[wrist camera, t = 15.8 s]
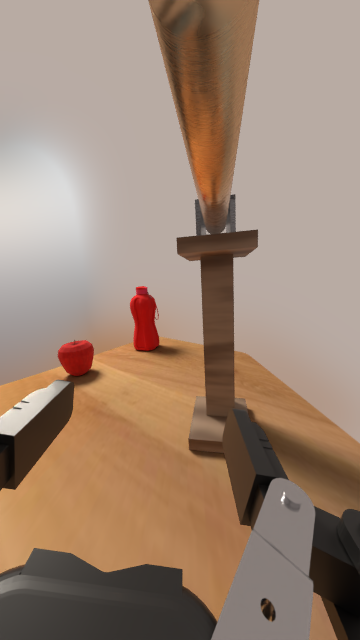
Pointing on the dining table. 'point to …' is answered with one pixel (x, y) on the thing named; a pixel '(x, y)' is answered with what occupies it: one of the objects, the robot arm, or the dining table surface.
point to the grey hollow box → (229, 223)
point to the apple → (76, 357)
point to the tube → (208, 88)
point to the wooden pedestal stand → (216, 331)
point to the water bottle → (144, 320)
